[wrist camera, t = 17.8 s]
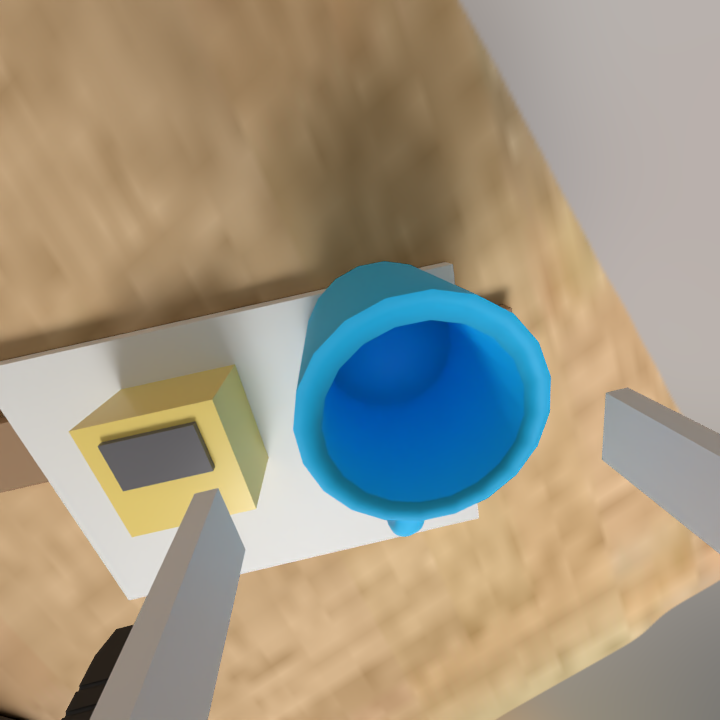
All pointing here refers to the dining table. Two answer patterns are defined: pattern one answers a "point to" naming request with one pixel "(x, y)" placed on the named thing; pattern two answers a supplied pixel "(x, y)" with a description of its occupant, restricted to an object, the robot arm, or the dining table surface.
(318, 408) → the mug
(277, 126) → the dining table surface
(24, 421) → the drywall panel
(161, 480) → the block
